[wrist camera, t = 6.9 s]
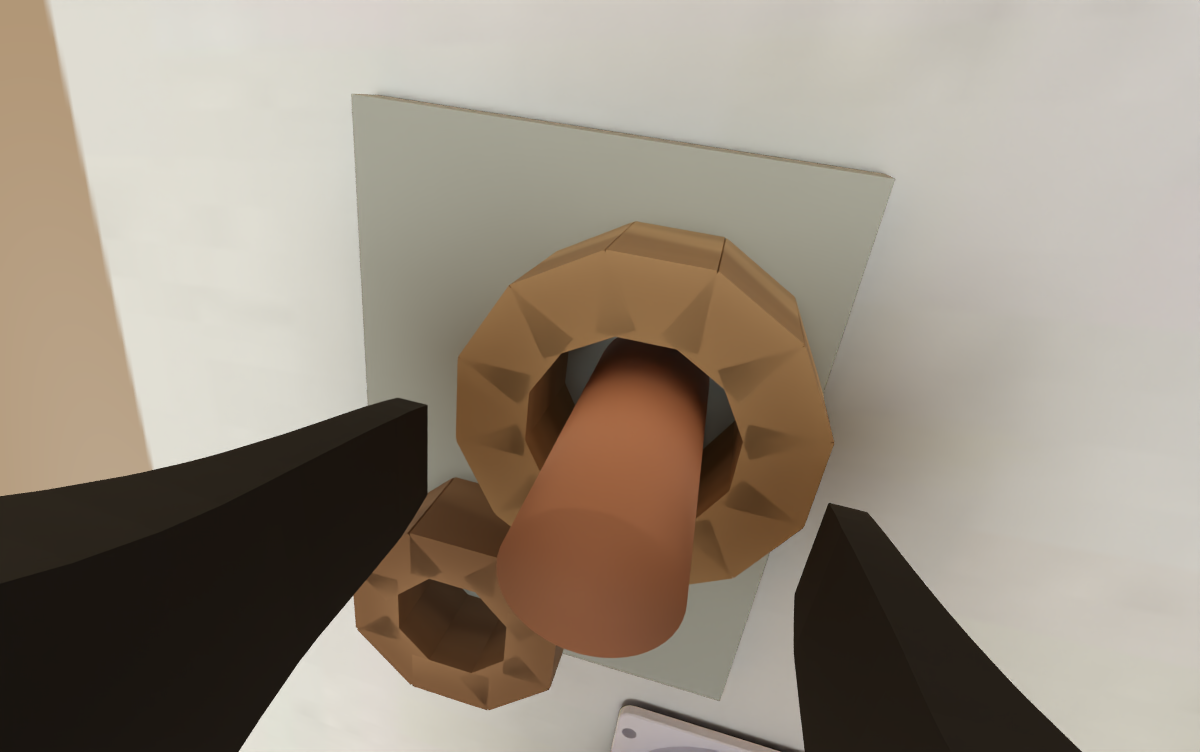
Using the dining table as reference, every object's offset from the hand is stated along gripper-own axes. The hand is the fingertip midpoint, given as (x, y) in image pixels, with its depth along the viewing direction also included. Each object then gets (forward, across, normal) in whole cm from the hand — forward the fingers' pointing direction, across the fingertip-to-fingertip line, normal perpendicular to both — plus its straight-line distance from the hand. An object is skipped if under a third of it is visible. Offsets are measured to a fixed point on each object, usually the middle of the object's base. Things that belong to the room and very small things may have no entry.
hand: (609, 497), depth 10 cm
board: (+6, +2, +2) cm, 7 cm away
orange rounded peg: (+5, 0, 0) cm, 5 cm away
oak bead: (+5, 0, 0) cm, 5 cm away
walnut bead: (+5, +4, +7) cm, 10 cm away
